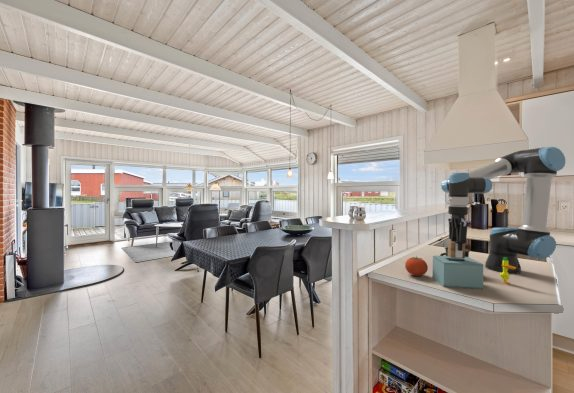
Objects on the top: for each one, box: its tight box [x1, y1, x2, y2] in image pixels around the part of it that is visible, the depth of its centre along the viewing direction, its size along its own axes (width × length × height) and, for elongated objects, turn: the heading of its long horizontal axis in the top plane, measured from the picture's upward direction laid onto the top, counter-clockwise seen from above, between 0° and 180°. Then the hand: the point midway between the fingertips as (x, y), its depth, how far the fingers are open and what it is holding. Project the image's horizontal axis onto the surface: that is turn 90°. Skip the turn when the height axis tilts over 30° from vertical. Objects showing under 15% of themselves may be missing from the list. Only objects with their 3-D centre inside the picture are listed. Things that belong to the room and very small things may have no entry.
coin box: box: [431, 255, 484, 290], centre depth 119 cm, size 16×12×11 cm
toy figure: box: [498, 258, 516, 285], centre depth 119 cm, size 7×4×12 cm, turn 18°
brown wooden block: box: [447, 240, 466, 258], centre depth 119 cm, size 6×3×7 cm, turn 81°
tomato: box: [404, 255, 429, 277], centre depth 129 cm, size 10×10×10 cm
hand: (456, 256), depth 119 cm, fingers closed on brown wooden block, 3 cm apart
